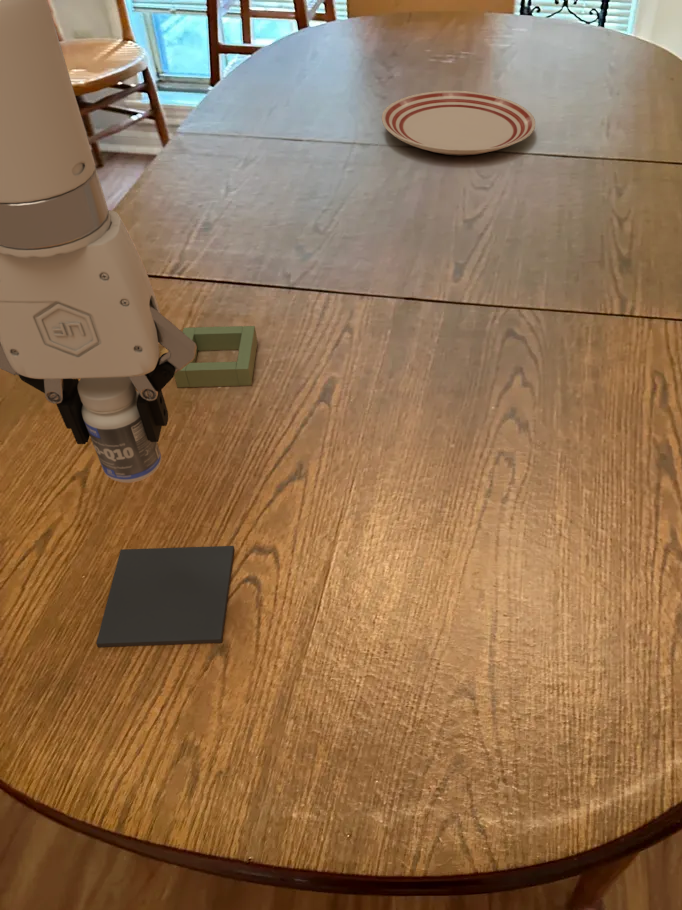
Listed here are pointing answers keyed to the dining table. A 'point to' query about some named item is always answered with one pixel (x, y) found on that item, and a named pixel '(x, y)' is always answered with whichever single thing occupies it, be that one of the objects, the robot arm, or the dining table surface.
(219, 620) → the mat
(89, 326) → the robot arm
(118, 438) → the pill bottle
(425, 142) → the dinner plate
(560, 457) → the dining table surface
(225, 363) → the stand
